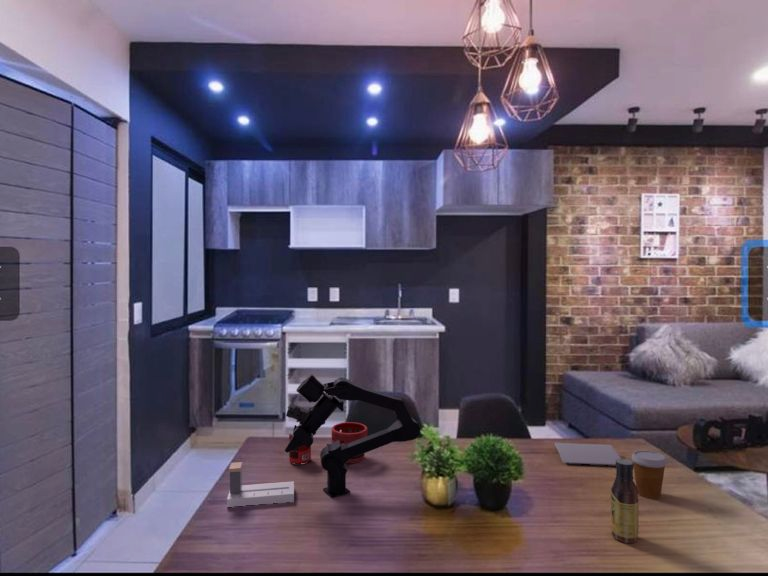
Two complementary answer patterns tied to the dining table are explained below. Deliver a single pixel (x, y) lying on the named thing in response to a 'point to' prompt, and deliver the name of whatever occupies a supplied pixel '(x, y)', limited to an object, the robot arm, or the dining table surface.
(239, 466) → the slider handle
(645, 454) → the disposable coffee cup
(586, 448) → the book
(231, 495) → the dimmer panel
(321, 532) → the dining table surface
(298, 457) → the canned food
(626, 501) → the sauce bottle
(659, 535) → the dining table surface
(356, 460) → the plant pot
